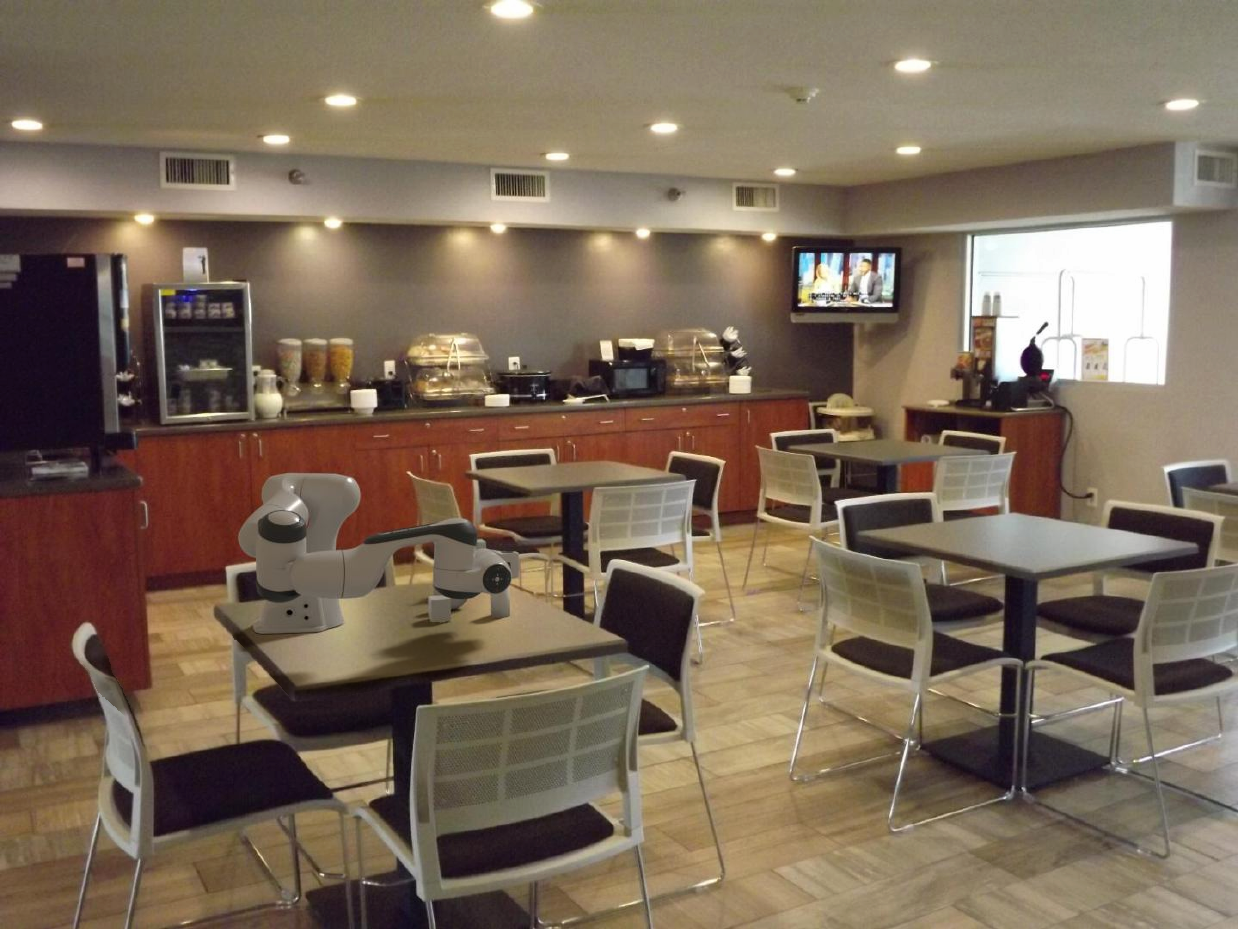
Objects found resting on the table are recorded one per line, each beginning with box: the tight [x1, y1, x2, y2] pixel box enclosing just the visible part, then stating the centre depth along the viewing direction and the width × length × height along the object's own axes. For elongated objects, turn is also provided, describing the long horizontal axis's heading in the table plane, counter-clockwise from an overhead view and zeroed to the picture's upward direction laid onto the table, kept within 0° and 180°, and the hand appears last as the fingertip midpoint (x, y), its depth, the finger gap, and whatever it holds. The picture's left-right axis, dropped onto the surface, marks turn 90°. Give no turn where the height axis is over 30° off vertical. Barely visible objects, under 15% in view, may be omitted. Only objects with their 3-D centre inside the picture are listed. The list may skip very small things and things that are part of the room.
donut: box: [433, 587, 468, 611], centre depth 316 cm, size 10×4×10 cm, turn 119°
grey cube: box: [427, 595, 452, 623], centre depth 304 cm, size 5×5×6 cm
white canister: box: [490, 586, 511, 618], centre depth 309 cm, size 5×5×8 cm
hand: (473, 557), depth 298 cm, fingers closed on sage block, 5 cm apart
